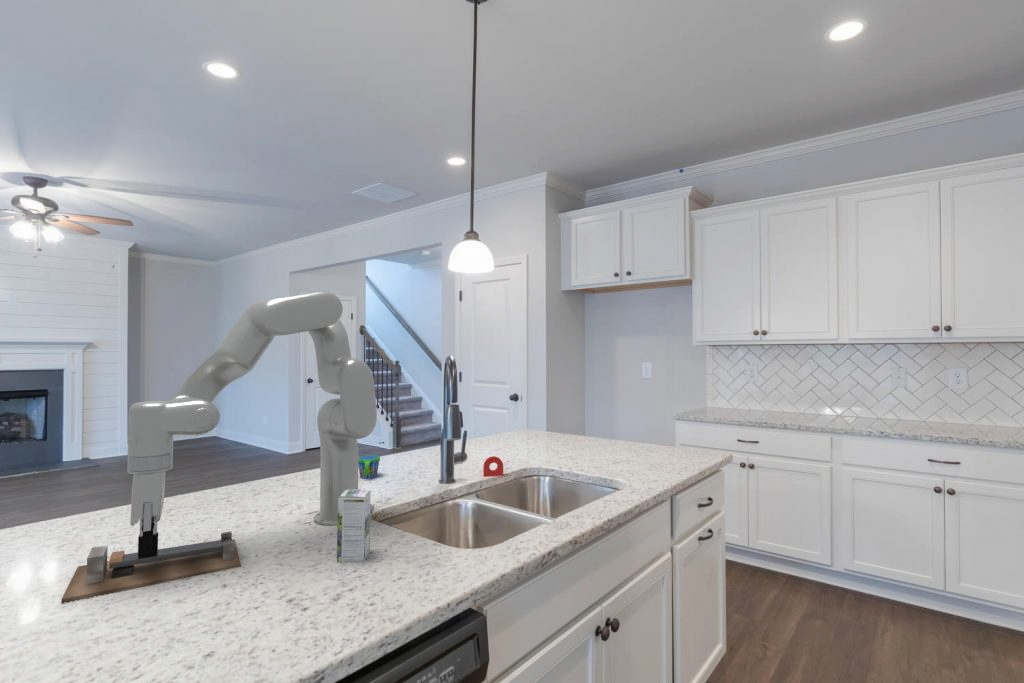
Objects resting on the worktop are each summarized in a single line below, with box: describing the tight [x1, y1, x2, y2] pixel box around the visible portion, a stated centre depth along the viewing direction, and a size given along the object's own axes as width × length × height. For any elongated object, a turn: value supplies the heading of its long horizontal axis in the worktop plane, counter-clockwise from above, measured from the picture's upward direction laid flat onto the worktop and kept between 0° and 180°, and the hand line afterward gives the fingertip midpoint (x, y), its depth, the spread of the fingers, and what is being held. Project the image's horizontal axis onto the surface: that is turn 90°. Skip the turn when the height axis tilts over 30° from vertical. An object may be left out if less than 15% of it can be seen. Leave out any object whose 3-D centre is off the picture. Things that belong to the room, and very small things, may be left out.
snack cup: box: [358, 454, 381, 480], centre depth 179 cm, size 11×8×7 cm
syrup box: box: [336, 488, 372, 563], centre depth 110 cm, size 6×6×14 cm
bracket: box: [482, 455, 505, 478], centre depth 177 cm, size 12×4×8 cm, turn 99°
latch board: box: [60, 531, 242, 604], centre depth 105 cm, size 28×16×6 cm, turn 122°
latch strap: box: [108, 537, 233, 569], centre depth 106 cm, size 21×5×2 cm, turn 122°
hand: (147, 554), depth 104 cm, fingers closed
